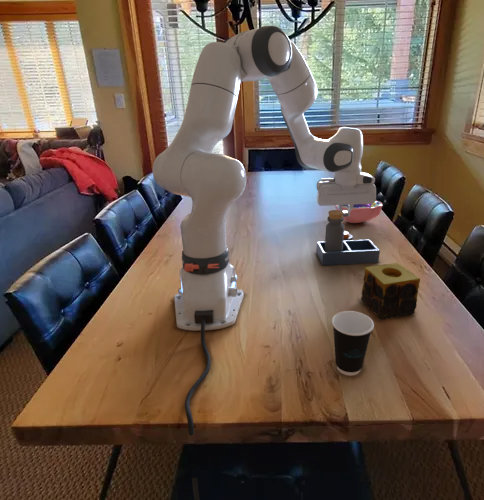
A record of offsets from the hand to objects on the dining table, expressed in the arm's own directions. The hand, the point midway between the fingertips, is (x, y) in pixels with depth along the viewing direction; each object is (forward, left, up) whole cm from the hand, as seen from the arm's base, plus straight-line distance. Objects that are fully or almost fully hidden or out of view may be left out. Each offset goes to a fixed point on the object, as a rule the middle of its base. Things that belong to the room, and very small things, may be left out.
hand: (344, 216), depth 132 cm
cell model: (+23, -12, -11) cm, 28 cm away
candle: (-43, 0, -11) cm, 45 cm away
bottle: (-12, +7, -10) cm, 17 cm away
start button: (0, 0, -8) cm, 8 cm away
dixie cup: (-64, +16, -11) cm, 67 cm away
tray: (-12, +2, -10) cm, 16 cm away
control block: (0, 0, -10) cm, 10 cm away
